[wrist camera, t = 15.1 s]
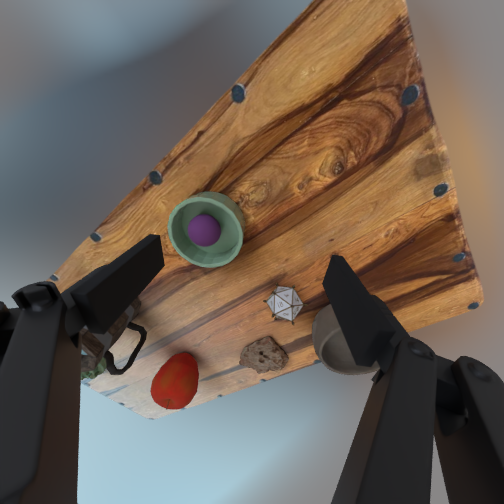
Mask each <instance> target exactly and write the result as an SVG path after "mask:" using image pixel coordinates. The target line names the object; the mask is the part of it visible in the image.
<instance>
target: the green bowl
mask: <svg viewBox="0 0 504 504" xmlns="http://www.w3.org/2000/svg"><path fill="white" fill-rule="evenodd" d="M201 214H207V215H211V216H213V217H214V218H215V219H217V221H218V222H219V224H220V226H221V236H220V238H219V240H218V241H217V242H216V243H215V244H213V245H211V246H208V247H202V246H199V245H196V244H195V243H194V242H193V241H192V240H191V239H190V237H189V235H188V225H189V223H190V221H191V220H192V219H193V218H194V217H196V216H197V215H201ZM168 234H169V239H170V241H171V243H172V245H173V247H174V248H175V250H176V251H177V252H178V253H179V254H180V255H181V256H182V257H183V258H185V259H186V260H188V261H189V262H191V263H193V264H195V265H198V266H201V267H210V268H212V267H218V266H223V265H225V264H227V263H229V262H231V261H232V260H233V259H234V258H235V257H236V256H237V255H238V253H239V251H240V249H241V246H242V243H243V239H244V235H245V219H244V216H243V214H242V211H241V210H240V208H239V207H238V205H237V204H236V203H235V202H234V201H233V200H232V199H230V198H229V197H227V196H225V195H223V194H221V193H218V192H212V191H206V192H200V193H197V194H194V195H193V196H191V197H189V198H188V199H186V200H184V201H183V202H181V203H180V204H178V205H177V206H176V207H175V208H174V210H173V211H172V213H171V214H170V217H169V221H168Z"/></svg>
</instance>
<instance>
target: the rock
mask: <svg viewBox="0 0 504 504" xmlns="http://www.w3.org/2000/svg"><path fill="white" fill-rule="evenodd" d="M288 361H289V358H288V357H287V354H285V353H284V350H281V349H280V348H279V347H278V345H277V344H276V343H275V342H274V340H273V339H272V338H271V337H269V336H267V337H266V338H263V340H260V341H255V342H254V343H253V344H251V345H250V346H247V347H245V348H244V349H243V352H242V354H241V361H240V362H239V363H240V365H243V366H248V367H249V368H253V369H254V370H256V371H257V373H258V374H260V373H265V372H268V371H269V370H271V371H275V370H278V369H282V368H284V366H285V365H286V363H287V362H288Z"/></svg>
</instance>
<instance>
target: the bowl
mask: <svg viewBox="0 0 504 504" xmlns="http://www.w3.org/2000/svg"><path fill="white" fill-rule="evenodd" d="M312 339H313V345H314V349H315V352H316V354H317V356H318V358H319V359H320V361H321V362H322V363H323V364H324V365H325V366H326V367H327V368H328V369H329V370H331V371H333V372H336V373H339V374H346V375H359V374H367V373H370V372H374V371H377V370H379V369H380V366H379V364H378V362H377V360H376V361H375V362H374V364H373V365H372V367H366V366H358V365H356V364H355V361H354V359H353V357H352V354H351V352H350V349H349V347H348V345H347V342H346V340H345V337H344V335H343V333H342V330H341V328H340V325H339V323H338V321H337V318H336V316H335V313H334V311H333V309H332V306H331V304H329V305H327V306H325V307H324V308H322V309H321V310H320V311H319V312H318V314H317V315H316V317H315V319H314V321H313V324H312Z"/></svg>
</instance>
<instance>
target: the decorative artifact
mask: <svg viewBox="0 0 504 504" xmlns="http://www.w3.org/2000/svg"><path fill="white" fill-rule="evenodd" d="M106 368H107V366H106V359H105V358H104V357H103V358H102V359H101V361H100V362H99V364H98V365H97V367H96V368H95V370H94V371H87V372H81V380H83V379H84V378H89V377H90V379H93V378H96V377H97V375H100V374H102V373H103V372H104V370H105V369H106Z"/></svg>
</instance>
